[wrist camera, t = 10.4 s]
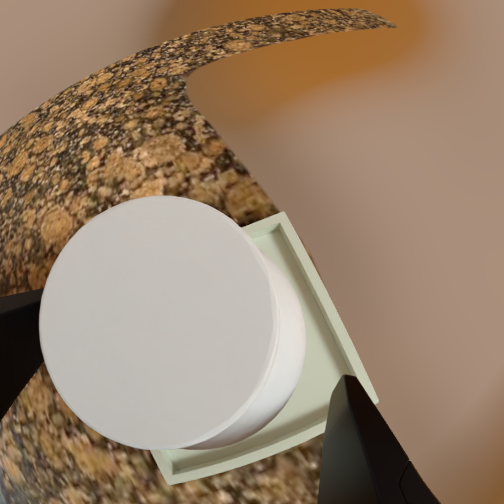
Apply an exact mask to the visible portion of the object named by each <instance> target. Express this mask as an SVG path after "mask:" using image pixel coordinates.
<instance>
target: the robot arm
mask: <svg viewBox="0 0 504 504" xmlns="http://www.w3.org/2000/svg"><path fill="white" fill-rule="evenodd" d="M43 291H44V288H43V289H38V290H33V291H28V292H24V293H19V294H14V295H9V296H5V297H0V422H1V420H2V418H3V417H4V415H5V414H6V412H7V411H8V410H9V408H10V407H11V405H12V404H13V402H14V401H15V399H16V398H17V397H18V395H19V394H20V393H21V391H22V390H23V388H24V387H25V386H26V384H27V383H28V382H29V380H30V379H31V378H32V376H33V375H34V374H35V372H36V371H37V370H38V368H39V367H40V366H41V365H42V363H43V362H44V357H43V353H42V349H41V344H40V335H39V314H40V306H41V299H42V294H43ZM317 504H441V503H440V502H439V500H438V499H437V498H436V497H435V496H434V494H433V493H432V492H431V490H430V489H429V488H428V486H427V485H426V483H425V482H424V481H423V479H422V478H421V476H420V475H419V473H418V472H417V470H416V469H415V467H414V465H413V464H412V462H411V461H409V458H408V456H407V454H406V453H405V451H404V450H403V448H402V447H401V445H400V443H399V442H398V440H397V439H396V437H395V435H394V434H393V432H392V431H391V429H390V428H389V426H388V425H387V423H386V421H385V420H384V418H383V417H382V415H381V414H380V412H379V411H378V409H377V407H376V406H375V404H374V403H373V401H372V400H371V398H370V397H369V395H368V394H367V392H366V391H365V389H364V388H363V386H362V384H361V383H360V381H359V380H358V378H357V377H356V376H352V375H347V374H344V375H342V376H341V378H340V379H339V381H338V383H337V385H336V386H335V388H334V390H333V392H332V394H331V398H330V404H329V410H328V416H327V422H326V427H325V432H324V438H323V447H322V461H321V472H320V483H319V493H318V502H317Z"/></svg>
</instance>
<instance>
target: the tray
mask: <svg viewBox="0 0 504 504" xmlns="http://www.w3.org/2000/svg"><path fill="white" fill-rule="evenodd" d="M242 229H243V230H244V231H245V232H246V233H247V234H248V235H249V237H250V238H251V239H252V240H253V242H254V243H255V244H256V246H257V247H258V248H259V249H260V250H262V251H263V252H264V253H265V254H267V255H268V256H269V257H270V258H271V259H272V260H273V261H274V262H275V263H276V264H277V265H278V266H279V268H280V269H281V270H282V271H283V273H284V274H285V275H286V277H287V278H288V280H289V281H290V283H291V285H292V287H293V288H294V290H295V292H296V295H297V297H298V300H299V302H300V305H301V308H302V312H303V316H304V321H305V328H306V352H305V360H304V364H303V369H302V373H301V376H300V379H299V381H298V384H297V386H296V388H295V390H294V392H293V394H292V396H291V397H290V399H289V400H288V402H287V404H286V405H285V406H284V408H283V409H282V410H281V411H280V412H279V414H278V415H277V416H276V417H275V418H274V419H273V420H272V421H271V422H270V423H269V424H267V425H266V426H265V427H264V428H263V429H261V430H260V431H258V432H257V433H255V434H254V435H252V436H250V437H248V438H246V439H244V440H242V441H240V442H238V443H235V444H232V445H229V446H225V447H221V448H216V449H208V450H186V449H172V450H150V451H151V453H152V455H153V457H154V459H155V461H156V463H157V465H158V467H159V469H160V471H161V473H162V475H163V477H164V479H165V481H166V482H167V484H168V485H172V484H177V483H182V482H186V481H190V480H195V479H199V478H203V477H206V476H210V475H214V474H217V473H221V472H224V471H228V470H231V469H234V468H237V467H240V466H243V465H246V464H249V463H252V462H255V461H258V460H260V459H263V458H266V457H268V456H271V455H274V454H276V453H279V452H281V451H284V450H286V449H288V448H291V447H293V446H295V445H298V444H300V443H302V442H304V441H307V440H309V439H311V438H313V437H315V436H317V435H319V434H321V433H323V432H325V427H326V422H327V416H328V410H329V404H330V398H331V394H332V392H333V390H334V388H335V386H336V385H337V383H338V381H339V379H340V378H341V376H342V375H344V374H347V375H352V376H356V377H357V378H358V380H359V381H360V383H361V384H362V386H363V388H364V389H365V391H366V392H367V394H368V395H369V397H370V398H371V400H372V401H373V403H374V404H376V403H378V402H379V400H378V398H377V395H376V393H375V391H374V389H373V386H372V384H371V382H370V380H369V378H368V375H367V373H366V371H365V369H364V367H363V365H362V362H361V361H360V358H359V356H358V354H357V352H356V350H355V348H354V345H353V344H352V341H351V339H350V337H349V335H348V333H347V331H346V329H345V327H344V325H343V323H342V321H341V319H340V317H339V315H338V313H337V311H336V309H335V307H334V305H333V303H332V301H331V299H330V297H329V295H328V293H327V291H326V289H325V287H324V285H323V283H322V281H321V279H320V277H319V275H318V273H317V271H316V269H315V267H314V266H313V264H312V262H311V260H310V258H309V256H308V254H307V252H306V250H305V249H304V247H303V245H302V243H301V241H300V239H299V237H298V236H297V234H296V232H295V230H294V228H293V226H292V225H291V223H290V221H289V219H288V217H287V216H286V214H285V212H281V213H278V214H276V215H273V216H271V217H268V218H265V219H263V220H260V221H258V222H255V223H252V224H250V225H247V226H245V227H242Z"/></svg>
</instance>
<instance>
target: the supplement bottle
mask: <svg viewBox="0 0 504 504" xmlns="http://www.w3.org/2000/svg"><path fill="white" fill-rule="evenodd" d="M39 335H40V344H41V349H42V353H43V357H44V361H45V364H46V367H47V370H48V373H49V375H50V377H51V380H52V382H53V384H54V386H55V387H56V389H57V391H58V393H59V394H60V396H61V397H62V399H63V400H64V402H65V403H66V404H67V406H68V407H69V408H70V409H71V410H72V411H73V412H74V413H75V414H76V415H77V416H78V417H79V418H80V419H81V420H82V421H83V422H84V423H85V424H87V425H88V426H89V427H91V428H92V429H93V430H95V431H96V432H98V433H100V434H101V435H103V436H105V437H107V438H109V439H111V440H113V441H116V442H119V443H121V444H124V445H127V446H131V447H135V448H139V449H146V450H172V449H186V450H208V449H216V448H221V447H225V446H229V445H232V444H235V443H238V442H240V441H242V440H244V439H246V438H248V437H250V436H252V435H254V434H255V433H257V432H258V431H260V430H261V429H263V428H264V427H265V426H266V425H267V424H269V423H270V422H271V421H272V420H273V419H274V418H275V417H276V416H277V415H278V414H279V412H280V411H281V410H282V409H283V408H284V406H285V405H286V404H287V402H288V400H289V399H290V397H291V396H292V394H293V392H294V390H295V388H296V386H297V384H298V381H299V379H300V376H301V373H302V369H303V364H304V360H305V352H306V328H305V321H304V316H303V312H302V308H301V305H300V302H299V300H298V297H297V295H296V292H295V290H294V288H293V287H292V285H291V283H290V281H289V280H288V278H287V277H286V275H285V274H284V273H283V271H282V270H281V269H280V268H279V266H278V265H277V264H276V263H275V262H274V261H273V260H272V259H271V258H270V257H269V256H268V255H267V254H265V253H264V252H263V251H262V250H260V249H259V248H258V247H257V246H256V244H255V243H254V242H253V240H252V239H251V238H250V237H249V235H248V234H247V233H246V232H245V231H244V230H243V229H242V228H241V227H240V226H238V225H237V224H236V223H235V222H234V221H233V220H232V219H230V218H229V217H227V216H226V215H224V214H223V213H222V212H220V211H218V210H216V209H214V208H212V207H210V206H208V205H206V204H203V203H201V202H197V201H194V200H191V199H187V198H181V197H175V196H149V197H142V198H138V199H133V200H129V201H127V202H124V203H121V204H119V205H116V206H114V207H112V208H110V209H108V210H106V211H104V212H102V213H101V214H99V215H97V216H96V217H94V218H93V219H91V220H90V221H89V222H87V223H86V224H85V225H84V226H83V227H82V228H80V229H79V230H78V231H77V232H76V233H75V234H74V235H73V237H72V238H71V239H70V240H69V241H68V243H67V244H66V245H65V247H64V248H63V249H62V251H61V252H60V254H59V256H58V257H57V259H56V261H55V263H54V265H53V266H52V269H51V271H50V273H49V276H48V278H47V281H46V285H45V288H44V291H43V294H42V299H41V306H40V314H39Z"/></svg>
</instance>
